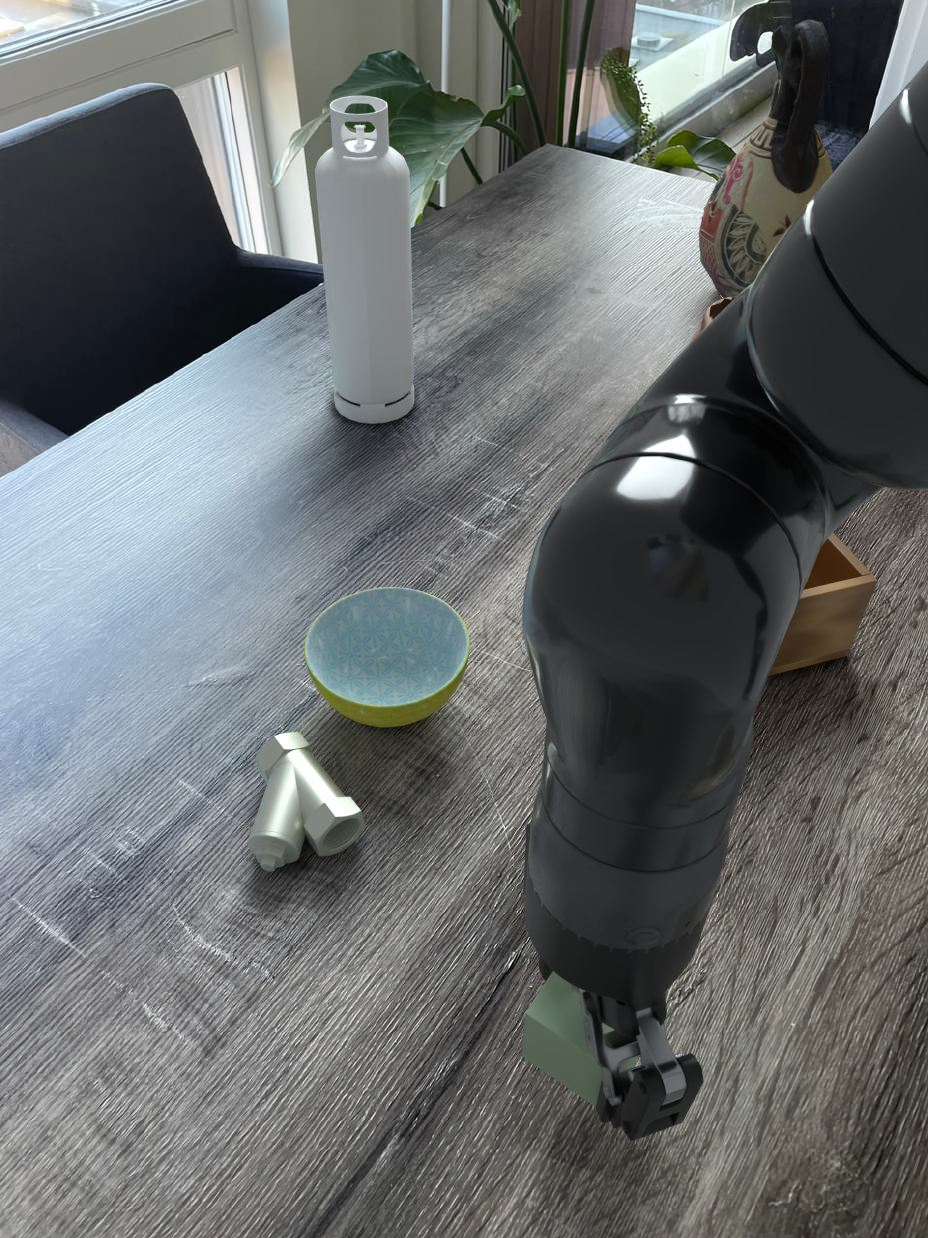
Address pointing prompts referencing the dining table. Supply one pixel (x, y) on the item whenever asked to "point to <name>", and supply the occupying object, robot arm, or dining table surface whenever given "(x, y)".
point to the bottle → (367, 265)
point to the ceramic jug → (770, 168)
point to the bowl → (387, 655)
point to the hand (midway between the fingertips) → (587, 1036)
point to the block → (563, 1040)
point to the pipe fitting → (299, 805)
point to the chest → (827, 609)
